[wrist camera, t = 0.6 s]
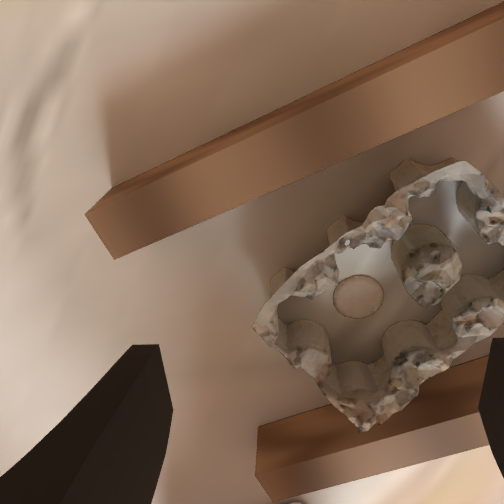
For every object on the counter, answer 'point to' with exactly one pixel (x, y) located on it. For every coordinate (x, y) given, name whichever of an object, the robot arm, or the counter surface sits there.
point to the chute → (297, 167)
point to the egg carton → (416, 284)
